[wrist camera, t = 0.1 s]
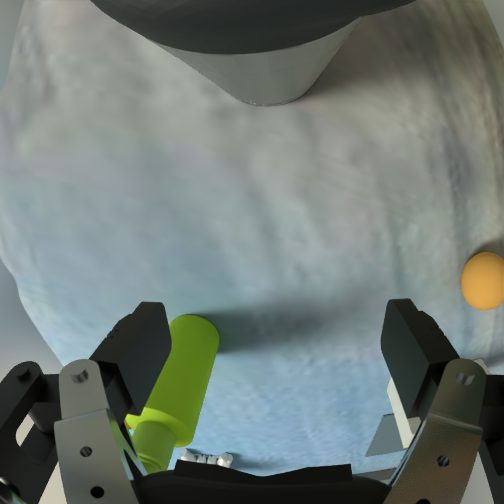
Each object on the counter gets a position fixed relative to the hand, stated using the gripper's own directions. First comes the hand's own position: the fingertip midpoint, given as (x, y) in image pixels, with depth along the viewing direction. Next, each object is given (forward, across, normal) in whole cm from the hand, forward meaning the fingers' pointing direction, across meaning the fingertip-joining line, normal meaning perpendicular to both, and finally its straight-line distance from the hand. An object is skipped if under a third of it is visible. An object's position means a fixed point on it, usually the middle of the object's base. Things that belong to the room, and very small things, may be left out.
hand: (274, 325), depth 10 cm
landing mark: (+18, -22, +36) cm, 46 cm away
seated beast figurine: (+19, +12, +44) cm, 50 cm away
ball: (+14, -22, +6) cm, 27 cm away
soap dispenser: (+18, +9, +13) cm, 24 cm away
